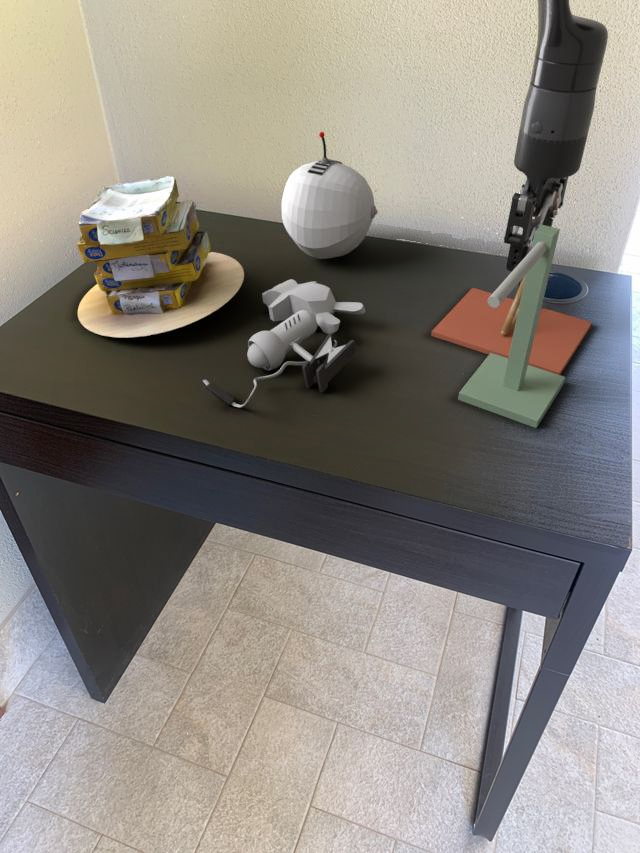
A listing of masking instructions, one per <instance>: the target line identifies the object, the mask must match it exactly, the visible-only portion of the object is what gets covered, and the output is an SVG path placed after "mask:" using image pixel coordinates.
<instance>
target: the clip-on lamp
mask: <svg viewBox="0 0 640 853" xmlns="http://www.w3.org/2000/svg"><path fill="white" fill-rule="evenodd" d="M317 329H318V326H317V320H316V318H315V316H314V315H313V314H312V313H311V312H309V311H307V310H300V311H298V312H297V313H295V314H294V315H292V316H291V317H289V318H288V319H286V320H282V322H280V323H279V324H278V325H276V326H274V327H273V328H271V329H270V330H261V331H258V332H256V333H254V334H253V335H252V336H250V337H249V340H248V341H247V348H248V349H247V353H246V356H247V360H248V362H249V363H250V365H252V366H253V367H255V368H259V369H264V370H265V371H269V372H270V371H273V370H275V369H277V368H279V367H280V366H281V367H280V369H279V370H277V371H276V372H275V373H273V374H269V375H263V376H257V377H254V379H253V385H254V387H253V389H252V391H251V393H250V395H249V396H248V398H247V399H246V401H245V402H244V403H242V404H238V403H236V402H235V401H236V399H235V398H234V397H233V396H232V395H230V394H229V393H228V392H227V391H226V390H224V389H222V387H220V386H219V385H218V384H216V382H214V381H212V380H210V382H209V380H207V379H203V380H202V382H203V384H205V389H206V390H207V391H209V392H210V393H211V394H213V395H214V396H215V397H216V398H217V399H219V400H220V401H221V402H223V403H224V404H225V405H227V406H228V407H230V406H233V407H236V408H239V409H241V408H244V407H245V406H246V405H247V404H248V403H249V401H250V400H251V399H252V396H253V395H254V393H255V392H256V389H257V386H258V383H257V381H264V380H269V379H273V378H276V377H278V376H280V375H281V374H282V373H283V372H284V370H285V369H286V367H287V366H297V367H301V370H302V376H303V379H304V385H305V388H307V389H310V388H311V387H312V386H313V384H314V382H315V381H314V378H315V376H316V379H317V385H318V391H319V392H320V393H324V392H325V391H326V390H327V389H328V387H329V382H330V381H331V380H332V379H333V378H334V377H335V376H336V375H337V374H338V373H339V372H340V371H341V370H342V368H344V366H346V365H347V363H349V361H350V360H351V359H352V358H353V357H354V356H355V355H356V353H357V342H356V341H355V340H354V339H351V340H349V341H348V342H347V343H346V344H343V345H340V346H338V341H337V340H335V335H334V334H335V333H327V335H326V337H325V339H324V340H323V341H322V343H321V344H320V346H319V347H318V349H316V352H315V353H314V355H312V354H311V353H310V352H308V351H307V350H305V348H304V347H302V346H301V345H300V344H301V343H303V342H304V341H305V340H307V339H308V338H309V337H310V336H312V335H313V334H315V332H317ZM292 350H293V351H294V352H295V353H296V354H297V355H299V356H300V357H301V358H303V359H304V360H305V361H293V360H292V361H291V360H289V361H286V362H284V360H285V359H286V355H287V354H288V353H289V352H290V351H292ZM283 362H284V363H283ZM282 363H283V364H282Z"/></svg>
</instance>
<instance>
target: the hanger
mask: <svg viewBox="0 0 640 853" xmlns="http://www.w3.org/2000/svg"><path fill="white" fill-rule="evenodd" d="M532 244H533V241H532V242H531V244H530V248H529V252H530V251H531V249H532ZM525 277H526V275H525V276H524V277H523V278H522V279H521V281H520V283H519V287H518V289H517V291H516V294H515V296H514V301H513V303H512V306H511V308H510V311H509V313H508V315H507V318H506V320H505V323H504V325H503V327H502V330H501V335H503V336H505V335H507V334H508V333H509V331H510V330H511V329H512V327H513V326H514V324H515V323H516V320H517V315H518V310H519V308H518V307H519V304H520V301H521V296H522V291H523V287H524V282H525Z"/></svg>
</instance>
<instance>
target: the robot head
mask: <svg viewBox="0 0 640 853" xmlns="http://www.w3.org/2000/svg"><path fill="white" fill-rule="evenodd" d="M318 137H319V138H321V141H322V148H323V157H322V158H321V159H320V160H316V161H312V162H308V163H306V164H303V165H301V166H299V167H298V168H296V169H294V170H293V172H292V173H291V174H290V175H289V177H288V179H287V181H286V183H285V186H284V189H283V193H282V198H281V219H282V223H283V226H284V229H285V231H286V232H287V233H288V236H290V238H291V239H292V241H293V242H294V243H295V245H297V247H298V248H299V249H300V250H301V251H302V252H303V253H304V254H306V255H308V256H310V257H311V258H314V259H319V260H323V259H324V260H326V259H333V258H337V257H338V258H339V257H343V256H346V255H348V254H350V253H351V252H352V251H354V250H355V249H356V248H358V247H359V245H360V244H361V243H362V242H363V241H364V239H365V238H366V236H367V234H368V233H369V230H370V228H371V226H372V223H373V219H375V217H376V215H377V214H378V212H379V211H378V209H377V207H376V205H375V198H374V193H373V190H372V188H371V186H370V184H369V183H368V181H367V180H366V178H365V177H364V176H363V175H362V174H360V172H358V171H357V170H355V169H354V168H352V167H351V166H348V165H346V164H344V163H343V162H342V161H340V160H334V159H330V158H328V157H327V144H326V139H325V132H323V131H320V132H319V133H318Z"/></svg>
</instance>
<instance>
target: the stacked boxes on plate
mask: <svg viewBox="0 0 640 853" xmlns="http://www.w3.org/2000/svg"><path fill="white" fill-rule="evenodd" d="M178 188H179V187H178V185H177V178H175V176H171V175H170V176H169V175H167V176H165V177H161V178H153V177H150V178H149V179H142V180H141V179H140V180H134V181H127V179H126V178H125V179H124V182H122V183H121V181H119V182H118V183H116V184H113V185H107V186H103V188H102V190H100V191H99V193H98V194H97V195H96V198H95V199H93V201H92V202H91V203H90V205H89V206H88V208H85V209H84V210H82V211H81V212H80V213H81V214H80V215H79V222H78V227H79V230H80V236H79V238H78V241H77V243H76V247H77V249H78V252H79V254H80V256H81V259H82V261H83V263H95V264H96V265H97V270H96V271H95V272H94V273H93V277H94V279H95V282H96V284H95V285H94V286H93V287H92V288H90V289H89V290H88V291H87V293H86V294H85V295H84V296H83V297H82V299H81V301H80V302H79V305H78V309H77V318H78V321H79V323H80V324H81V325H82V326H83V327H84V328H85V329H87V331H89V332H92V333H94V334H97V335H100V336H104V337H111V338H121V339H122V338H127V339H128V338H139V337H147V336H151V335H158V334H161V333H167V332H170V331H173V330H176V329H179V328H183V327H185V326H187V325H190V324H192V323H195V322H197V321H199V320H201V319H204V318H205V317H207V316H210V315H211V314H212V313H214V312H216V311H218V310H219V309H220V308H221V307H223V306H224V305H225V304H227V303H228V302H230V300H232V298H233V297H234V296H235V295H236V294H237V293H238V292H239V290H240V288H241V287H242V284H243V282H244V279H245V272H244V267H243V266H242V265H241V263H240V262H239V261H237V259H235V258H233V257H231V256H230V255H227V254H223V253H220V252H215V251H212V250H211V243H210V239H209V234H208V228H205V229H204V230H203V231H202V230H201V231H198V230H199V228H200V225H199V221H198V217H197V212H196V207H197V203H195V202H194V201H193V200H192V199H190V200H188V199H186V200H182V201H178V198H179V197H180V194H179V189H178Z"/></svg>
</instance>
